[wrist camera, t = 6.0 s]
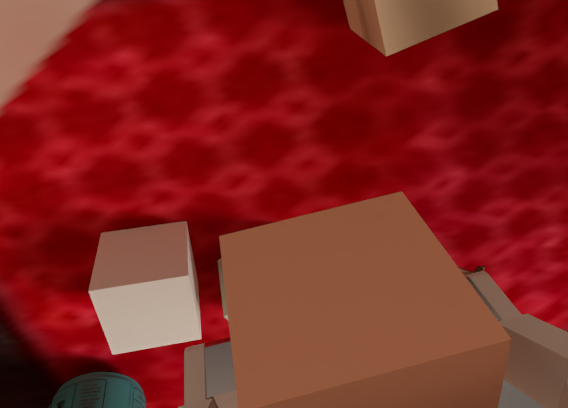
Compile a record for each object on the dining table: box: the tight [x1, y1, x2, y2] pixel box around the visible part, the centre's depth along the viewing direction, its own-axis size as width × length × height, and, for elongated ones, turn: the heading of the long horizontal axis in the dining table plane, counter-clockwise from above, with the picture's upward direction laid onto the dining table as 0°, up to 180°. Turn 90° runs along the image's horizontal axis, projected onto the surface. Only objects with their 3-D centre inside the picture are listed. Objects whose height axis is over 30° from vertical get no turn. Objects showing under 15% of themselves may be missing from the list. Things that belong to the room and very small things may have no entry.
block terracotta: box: [219, 191, 511, 408], centre depth 12 cm, size 5×5×5 cm
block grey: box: [88, 221, 202, 355], centre depth 27 cm, size 5×5×5 cm
